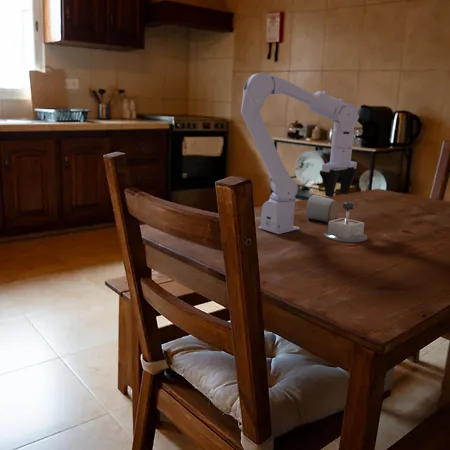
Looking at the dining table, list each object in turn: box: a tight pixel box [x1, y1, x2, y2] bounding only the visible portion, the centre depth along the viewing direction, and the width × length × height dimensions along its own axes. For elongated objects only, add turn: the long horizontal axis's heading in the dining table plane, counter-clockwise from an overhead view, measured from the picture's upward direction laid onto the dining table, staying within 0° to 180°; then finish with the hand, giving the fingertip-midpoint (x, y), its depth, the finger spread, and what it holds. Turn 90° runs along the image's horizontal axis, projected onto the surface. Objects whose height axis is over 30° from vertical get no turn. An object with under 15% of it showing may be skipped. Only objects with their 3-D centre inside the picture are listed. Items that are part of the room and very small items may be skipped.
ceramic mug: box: [305, 194, 339, 223], centre depth 160 cm, size 11×8×8 cm
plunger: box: [338, 201, 357, 225], centre depth 141 cm, size 5×5×6 cm
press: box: [323, 217, 368, 244], centre depth 142 cm, size 12×12×4 cm
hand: (336, 195), depth 146 cm, fingers open, 7 cm apart
